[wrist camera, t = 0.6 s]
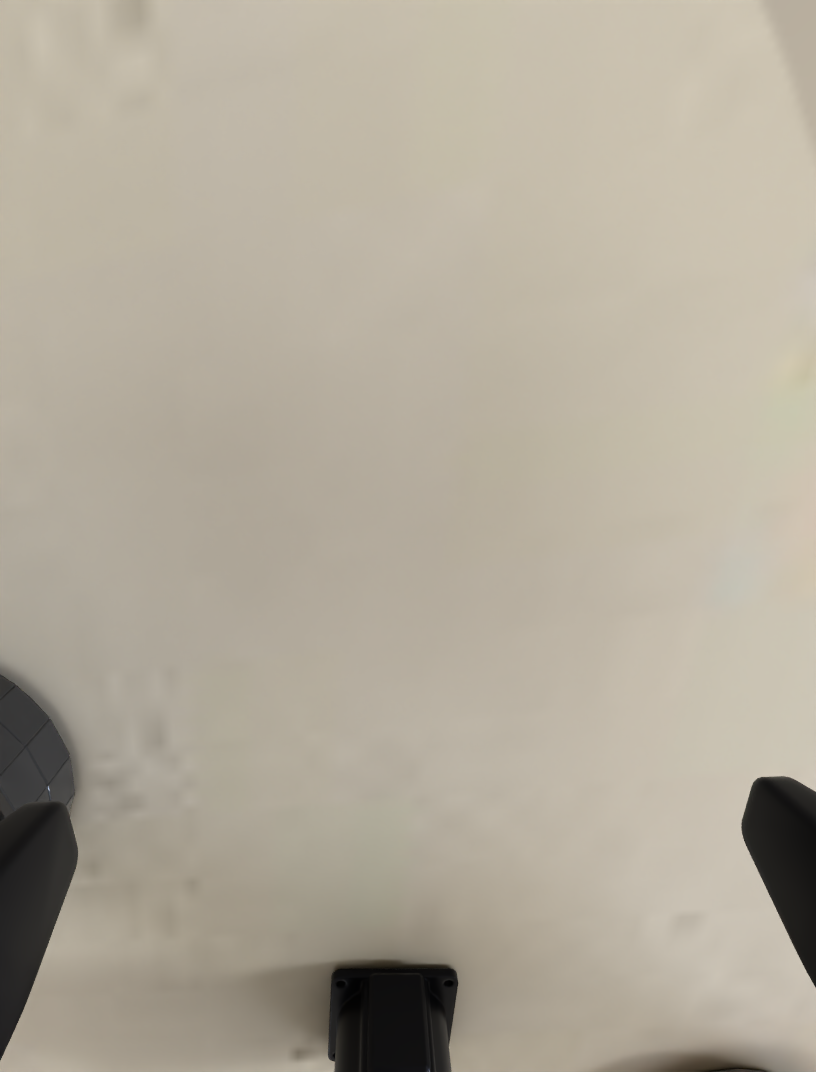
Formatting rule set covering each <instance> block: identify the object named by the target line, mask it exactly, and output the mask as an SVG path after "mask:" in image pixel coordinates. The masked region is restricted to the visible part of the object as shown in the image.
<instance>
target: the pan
mask: <svg viewBox="0 0 816 1072" xmlns="http://www.w3.org/2000/svg"><path fill="white" fill-rule="evenodd" d="M74 795H75V787H74V780H73V773H72V765H71V758H70V756H69V752H68V750H67V748H66V747H65V745H64V743H63V741H62V739H61V737H60V735H59V734H58V732H57V730H56V728H55V726H54V724H53V723H52V721H51V719H49V716H48V715H47V714H46V713H45V712H44V711H43V710H42V709H41V708H40V707H39V706H38V705H37V704H36V703H35V702H34V701H33V700H32V699H31V698H30V697H29V696H28V695H27V694H26V693H25V692H23V691H22V690H21V689H20V688H19V687H18V686H16V685H15V684H14V683H13V682H11V681H9V680H8V679H6V678H5V677H3V676H2V675H0V821H1V820H3V819H4V818H6V817H7V816H8V815H10V814H11V813H13V812H14V811H15V810H17V809H18V808H20V807H21V806H23V805H25V804H27V803H30V802H41V801H60V802H63V803H64V804H65V805H66V807H67V809H68V812H70V809H71V805H72V802H73V798H74Z"/></svg>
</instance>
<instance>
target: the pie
mask: <svg viewBox="0 0 816 1072" xmlns="http://www.w3.org/2000/svg"><path fill="white" fill-rule="evenodd" d="M713 1072H764V1071H759V1070H746V1069H730V1070H722V1071H713Z"/></svg>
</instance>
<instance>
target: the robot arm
mask: <svg viewBox="0 0 816 1072" xmlns="http://www.w3.org/2000/svg"><path fill="white" fill-rule="evenodd" d="M742 835H743V838H744V841H745V844H746V846H747V848H748V850H749V852H750V855H751V857H752V859H753V861H754V863H755V865H756V867H757V869H758V872H759V874H760V876H761V878H762V880H763V882H764V884H765V886H766V888H767V891H768V893H769V895H770V897H771V899H772V901H773V903H774V905H775V907H776V910H777V912H778V914H779V916H780V918H781V920H782V922H783V924H784V926H785V929H786V931H787V933H788V935H789V937H790V939H791V941H792V943H793V945H794V948H795V949H796V951H797V953H798V955H799V957H800V959H801V961H802V963H803V965H804V967H805V969H806V971H807V973H808V975H809V976H810V978H811V980H812V982H813V984H814V986H815V987H816V792H815V791H813V790H812V789H810V788H808V787H806V786H805V785H803V784H801V783H800V782H798V781H796V780H794V779H792V778H789V777H784V776H781V777H760V778H758V779H756V780H755V781H754V782H753V785H752V787H751V791H750V794H749V798H748V801H747V805H746V808H745V812H744V815H743V819H742ZM77 859H78V848H77V843H76V839H75V835H74V831H73V828H72V824H71V820H70V816H69V812H68V809H67V807H66V805H65V804H64V803H63V802H60V801H41V802H30V803H27V804H25V805H23V806H21V807H20V808H18V809H17V810H15V811H14V812H13V813H11V814H10V815H8V816H7V817H6V818H4V819H3V820H1V821H0V1060H1V1058H2V1056H3V1054H4V1052H5V1049H6V1047H7V1045H8V1043H9V1041H10V1039H11V1037H12V1034H13V1032H14V1030H15V1028H16V1025H17V1023H18V1021H19V1018H20V1016H21V1014H22V1012H23V1009H24V1007H25V1004H26V1002H27V999H28V997H29V994H30V992H31V989H32V986H33V984H34V981H35V978H36V976H37V973H38V970H39V967H40V965H41V962H42V959H43V957H44V954H45V951H46V948H47V946H48V943H49V940H50V937H51V935H52V932H53V929H54V926H55V924H56V921H57V918H58V915H59V913H60V910H61V907H62V905H63V902H64V899H65V896H66V894H67V891H68V888H69V885H70V883H71V880H72V877H73V874H74V872H75V869H76V865H77ZM457 987H458V980H457V973H456V971H455V970H453V969H339V970H336V971H335V972H334V973H333V974H332V981H331V1001H330V1023H329V1045H328V1058H329V1059H330V1060H332V1061H335V1071H334V1072H451V1063H450V1053H449V1041H450V1035H451V1028H452V1021H453V1014H454V1007H455V1000H456V994H457Z"/></svg>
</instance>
